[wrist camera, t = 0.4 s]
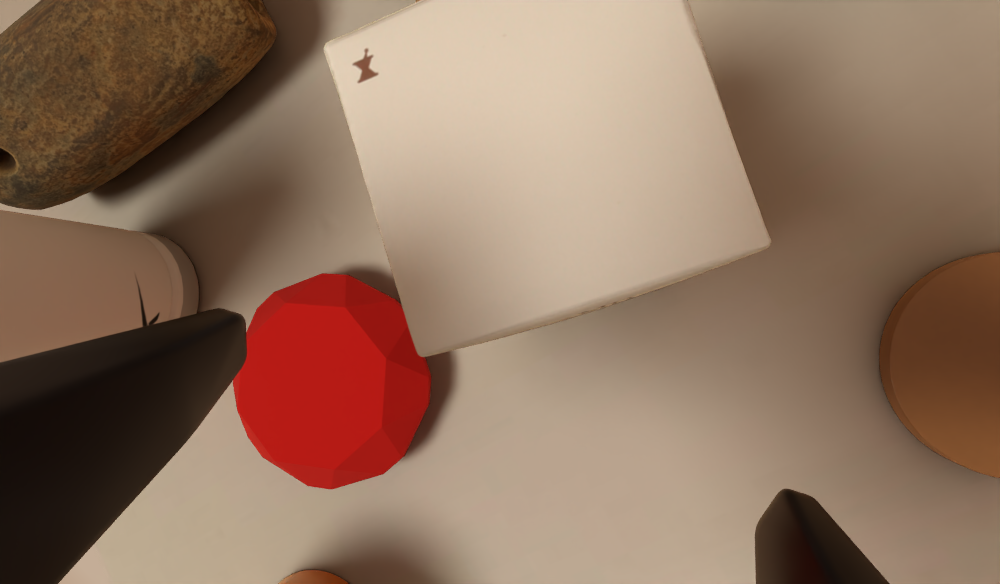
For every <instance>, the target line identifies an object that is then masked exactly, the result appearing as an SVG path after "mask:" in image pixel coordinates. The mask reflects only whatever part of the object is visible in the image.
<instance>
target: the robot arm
mask: <svg viewBox="0 0 1000 584" xmlns="http://www.w3.org/2000/svg"><path fill="white" fill-rule="evenodd" d="M246 357H247V339H246V323H245V319H244V317H243V316H242V315H241V314H238V313H235V312H232V311H229V310H226V309H221V308H217V309H213V310H209V311H205V312H201V313H197V314H193V315H189V316H185V317H181V318H177V319H173V320H169V321H165V322H161V323H157V324H152V325H148V326H144V327H140V328H136V329H132V330H128V331H124V332H120V333H116V334H112V335H108V336H104V337H100V338H96V339H92V340H88V341H84V342H80V343H76V344H72V345H68V346H64V347H60V348H56V349H52V350H48V351H44V352H40V353H36V354H32V355H28V356H24V357H20V358H16V359H12V360H8V361H4V362H0V584H58V583H59V582H60V581H61V580H62V579H63V577H64V576H65V575H66V574H67V573H68V572H69V571H70V570H71V569H72V567H73V566H74V565H75V564H76V563H77V562H78V561H79V560H80V559H81V557H83V555H84V554H85V553H86V552H87V551H88V550H89V549H90V548H91V547H92V545H93V544H94V543H95V542H96V541H97V540H98V539H99V538H100V537H101V536H102V534H103V533H104V532H105V531H106V530H107V529H108V528H109V527H110V526H111V525H112V523H113V522H114V521H115V520H116V519H117V518H118V517H119V516H120V515H121V514H122V512H123V511H124V510H125V509H126V508H127V507H128V506H129V505H130V504H131V503H132V501H133V500H134V499H135V498H136V497H137V496H138V495H139V494H140V493H141V491H142V490H143V489H144V488H145V487H146V486H147V485H148V484H149V483H150V482H151V480H152V479H153V478H154V477H155V476H156V475H157V474H158V473H159V472H160V471H161V469H162V468H163V467H164V466H165V465H166V464H167V463H168V462H169V461H170V460H171V458H172V457H173V456H174V455H175V454H176V453H177V452H178V451H179V450H180V448H181V447H182V446H183V445H184V444H185V443H186V441H187V440H188V439H189V438H190V437H191V435H192V434H193V433H194V432H195V430H196V429H197V428H198V427H199V425H200V424H201V423H202V421H203V420H204V419H205V417H206V416H207V414H208V413H209V412H210V410H211V409H212V408H213V406H214V405H215V404H216V402H217V401H218V400H219V398H220V397H221V395H222V394H223V393H224V391H225V390H226V389H227V387H228V386H229V385H230V383H231V382H232V381H233V379H234V378H235V377H236V375H237V374H238V372H239V371H240V370H241V368H242V367H243V365H244V363H245V361H246ZM755 562H756V584H889V583H888V581H887V580H886V579H885V578H884V577H883V576H882V575H881V573H880V572H879V571H878V570H877V569H876V568H875V567H874V565H873V564H872V563H871V562H870V561H869V560H868V559H867V557H866V556H865V555H864V554H863V553H862V552H861V551H860V549H859V548H858V547H857V546H856V545H855V544H854V543H853V542H852V540H851V539H850V538H849V537H848V536H847V535H846V534H845V532H844V531H843V530H842V529H841V528H840V527H839V526H838V524H837V523H836V522H835V521H834V520H833V519H832V518H831V516H830V515H829V514H828V513H827V512H826V511H825V510H824V508H823V507H822V506H821V505H820V504H819V503H818V502H817V501H816V500H815V499H814V498H813V497H811V496H809V495H806V494H803V493H800V492H797V491H794V490H791V489H783V490H781V491H780V492H779V493H778V494H777V495H776V497H775V498H774V500H773V501H772V502H771V504H770V505H769V507H768V508H767V510H766V511H765V513H764V514H763V515H762V517H761V518H760V520H759V522H758V524H757V527H756V532H755Z"/></svg>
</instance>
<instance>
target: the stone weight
mask: <svg viewBox="0 0 1000 584" xmlns="http://www.w3.org/2000/svg"><path fill="white" fill-rule="evenodd" d="M275 39H276V28H275V25H274V23H273V22H272V19H271V18H270V16H269V14H268V12H267V10H266V8H265V6H264V4H263V2H262V1H261V0H41V1H40V2H38V3H37V4H36V5H35V6H34V7H32V8H31V9H30V10H29V11H27V12H26V13H25V14H24V15H23V16H22V17H20V18H19V19H18V20H17V21H15V22H14V23H13V24H12V25H11V26H10V27H8V28H7V29H6V30H5V31H4V32H3V33H1V34H0V203H2V204H5V205H8V206H12V207H16V208H23V209H31V210H41V209H46V208H49V207H53V206H56V205H60V204H63V203H65V202H68V201H71V200H73V199H75V198H77V197H79V196H81V195H83V194H86V193H88V192H90V191H92V190H94V189H96V188H98V187H99V186H101V185H103V184H104V183H106V182H107V181H109V180H111V179H113V178H115V177H116V176H118V175H119V174H121V173H122V172H124V171H125V170H127V169H128V168H129V167H131V166H132V165H133V164H135V163H136V162H137V161H138V160H140V159H141V158H143V157H144V156H146V155H147V154H148V153H150V152H152V151H153V150H154V149H155V148H156V147H158V146H159V145H161V144H162V143H163V142H165V141H166V140H168V139H169V138H170V137H172V136H173V135H174V134H176V133H177V132H178V131H180V130H181V129H182V128H183V127H185V126H186V125H187V124H189V123H190V122H192V121H193V120H194V119H196V118H197V117H199V116H200V115H201V114H202V113H204V112H205V111H206V110H207V109H208V108H210V107H211V106H212V105H213V104H215V103H216V102H217V101H218V100H220V99H221V98H222V97H223V96H224V95H225V94H226V93H227V92H228V91H229V90H230V89H231V88H232V87H233V86H235V85H236V84H237V83H238V82H239V81H241V80H242V79H243V78H244V77H245V76H246V75H247V74H248V73H249V72H250V71H251V70H252V69H253V67H254V66H255V65H256V64H257V63H258V62H259V61H260V60H261V58H262V57H263V56H264V55H265V54H266V53H267V51H268V50H269V49H270V48H271V46H272V45H273V43H274V41H275Z"/></svg>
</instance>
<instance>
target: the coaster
mask: <svg viewBox="0 0 1000 584" xmlns="http://www.w3.org/2000/svg"><path fill="white" fill-rule="evenodd" d="M879 367H880V374H881V380H882V383H883V387H884V390H885V393H886V396H887V398H888V400H889V402H890V404H891V406H892V408H893V410H894V411H895V413H896V414H897V416H898V418H899V419H900V421H901V422H902V423H903V424H904V425H905V426H906V428H907V429H908V430H909V431H910V432H911V433H912V434H913V435H914V436H915V437H916V438H917V439H918V440H919V441H921V442H922V443H923V444H924V445H926V446H927V447H929V448H930V449H931V450H933V451H934V452H936V453H938V454H939V455H941V456H943V457H945V458H947V459H948V460H950V461H953V462H955V463H957V464H959V465H961V466H964V467H966V468H969V469H971V470H973V471H976V472H979V473H982V474H985V475H989V476H992V477H997V478H1000V252H994V253H987V254H980V255H974V256H970V257H966V258H962V259H959V260H956V261H954V262H951V263H948V264H946V265H944V266H942V267H940V268H938V269H936V270H934V271H932V272H931V273H929V274H928V275H926V276H925V277H923V278H922V279H920V280H919V281H918V282H917V283H916V284H914V285H913V286H912V287H911V288H910V289H909V290H908V291H907V292H906V293H905V294H904V295H903V297H902V298H901V299H900V300H899V301H898V303H897V304H896V306H895V308H894V309H893V311H892V312H891V314H890V316H889V318H888V321H887V323H886V325H885V328H884V331H883V335H882V338H881V344H880V351H879Z"/></svg>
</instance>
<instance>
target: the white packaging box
mask: <svg viewBox="0 0 1000 584" xmlns="http://www.w3.org/2000/svg"><path fill="white" fill-rule="evenodd" d="M323 50H324V53H325V56H326V59H327V62H328V65H329V68H330V71H331V74H332V77H333V80H334V83H335V86H336V89H337V92H338V96H339V99H340V102H341V105H342V108H343V111H344V115H345V118H346V121H347V124H348V127H349V130H350V133H351V137H352V140H353V143H354V146H355V149H356V152H357V156H358V159H359V162H360V165H361V169H362V173H363V176H364V180H365V183H366V186H367V189H368V193H369V196H370V199H371V203H372V206H373V210H374V213H375V217H376V220H377V223H378V227H379V230H380V233H381V237H382V240H383V243H384V247H385V250H386V253H387V257H388V260H389V263H390V267H391V270H392V273H393V277H394V280H395V284H396V287H397V291H398V294H399V297H400V300H401V304H402V308H403V311H404V314H405V317H406V321H407V324H408V327H409V331H410V334H411V337H412V340H413V343H414V346H415V349H416V351H417V353H418V355H420V356H421V357H427V356H431V355H436V354H440V353H444V352H448V351H452V350H456V349H460V348H464V347H468V346H472V345H476V344H480V343H484V342H488V341H491V340H495V339H499V338H503V337H506V336H510V335H514V334H517V333H521V332H524V331H528V330H531V329H535V328H539V327H542V326H546V325H549V324H553V323H556V322H560V321H563V320H566V319H569V318H573V317H576V316H579V315H582V314H585V313H589V312H592V311H595V310H598V309H601V308H605V307H608V306H610V305H613V304H616V303H619V302H622V301H625V300H628V299H631V298H634V297H637V296H640V295H643V294H646V293H649V292H651V291H654V290H657V289H660V288H663V287H666V286H669V285H672V284H675V283H677V282H680V281H683V280H685V279H688V278H691V277H693V276H696V275H699V274H701V273H704V272H707V271H709V270H712V269H715V268H717V267H720V266H723V265H725V264H728V263H731V262H733V261H736V260H739V259H742V258H744V257H747V256H750V255H752V254H755V253H758V252H760V251H763V250H765V249H767V248H769V247H770V244H771V239H770V237H769V234H768V232H767V230H766V227H765V224H764V222H763V219H762V216H761V213H760V210H759V207H758V205H757V202H756V199H755V196H754V194H753V191H752V188H751V186H750V183H749V180H748V177H747V175H746V172H745V169H744V166H743V163H742V161H741V158H740V155H739V152H738V150H737V147H736V144H735V141H734V138H733V135H732V132H731V129H730V126H729V123H728V120H727V117H726V114H725V111H724V108H723V105H722V102H721V99H720V96H719V93H718V90H717V87H716V84H715V80H714V77H713V74H712V71H711V68H710V65H709V62H708V59H707V56H706V53H705V50H704V47H703V44H702V41H701V38H700V35H699V32H698V29H697V26H696V23H695V20H694V17H693V14H692V11H691V8H690V5H689V2H688V0H420V1H418V2H416V3H414V4H412V5H410V6H407V7H405V8H403V9H401V10H399V11H396V12H394V13H392V14H390V15H388V16H385V17H383V18H381V19H378V20H376V21H374V22H372V23H369V24H367V25H365V26H363V27H361V28H359V29H357V30H354V31H352V32H350V33H347V34H345V35H343V36H340V37H337V38H334V39H332V40H330V41H328V42H327V43H326V44H325V46H324V49H323Z"/></svg>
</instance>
